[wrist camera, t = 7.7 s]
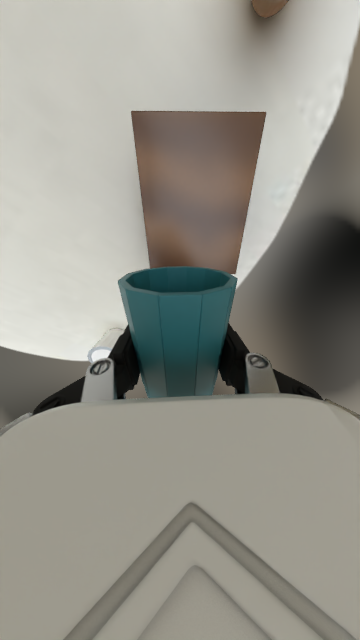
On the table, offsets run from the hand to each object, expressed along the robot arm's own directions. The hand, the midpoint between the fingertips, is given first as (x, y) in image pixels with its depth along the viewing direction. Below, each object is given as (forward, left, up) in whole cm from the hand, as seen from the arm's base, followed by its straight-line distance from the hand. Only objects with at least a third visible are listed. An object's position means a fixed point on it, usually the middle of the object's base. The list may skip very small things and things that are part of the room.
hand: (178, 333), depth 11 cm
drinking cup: (-1, 0, -1) cm, 1 cm away
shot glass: (+14, -15, -18) cm, 27 cm away
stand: (-9, +2, -17) cm, 20 cm away
